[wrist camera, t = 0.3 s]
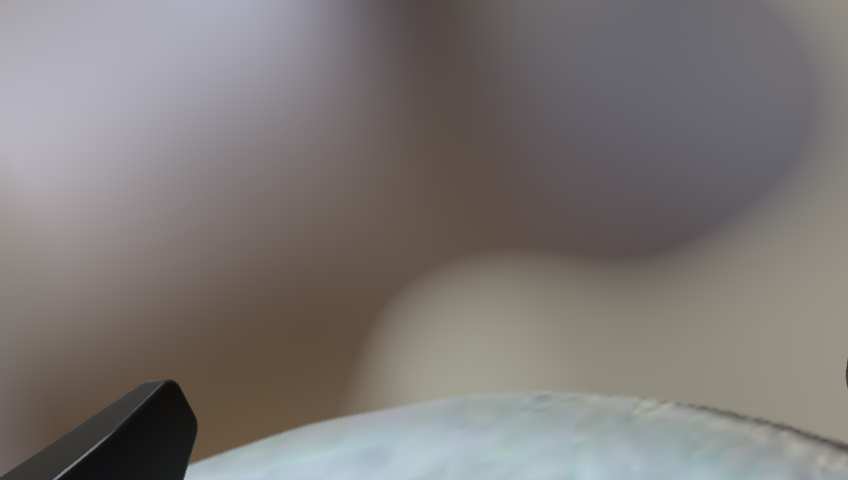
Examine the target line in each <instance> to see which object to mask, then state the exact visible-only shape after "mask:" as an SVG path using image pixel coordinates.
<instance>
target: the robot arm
mask: <svg viewBox="0 0 848 480" xmlns="http://www.w3.org/2000/svg"><path fill="white" fill-rule="evenodd" d="M846 382H847V387H848V361H847V369H846ZM197 433H198V422H197V418H196V416H195V414H194V412H193V410H192V408H191V406H190V404H189V403H188V401H187V399H186V397H185V395H184V393H183V391H182V389H181V387H180V386H179V384H178V383H177V382H175V381H174V380H172V379H160V380H150V381H147V382H144V383H142V384H141V385H139V386H138V387H136V388H135V389H133V390H132V391H130V392H128V393H127V394H126V395H124V396H122V397H121V398H119V399H118V400H116V401H115V402H114V403H112V404H110V405H109V406H107V407H106V408H104V409H103V410H101V411H100V412H98V413H97V414H95V415H94V416H92V417H91V418H89V419H88V420H86V421H85V422H83V423H81V424H80V425H79V426H77V427H75V428H74V429H72V430H71V431H69V432H68V433H66V434H65V435H63V436H62V437H60V438H59V439H57V440H56V441H54V442H53V443H51V444H50V445H48V446H47V447H45V448H44V449H42V450H40V451H39V452H37V453H36V454H34V455H33V456H31V457H30V458H28V459H27V460H25V461H24V462H22V463H21V464H19V465H18V466H16V467H15V468H13V469H12V470H10V471H9V472H7V473H6V474H4V475H3V476H1V477H0V480H184V477H185V474H186V470H187V467H188V464H189V460H190V457H191V454H192V450H193V447H194V444H195V441H196V438H197Z"/></svg>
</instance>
